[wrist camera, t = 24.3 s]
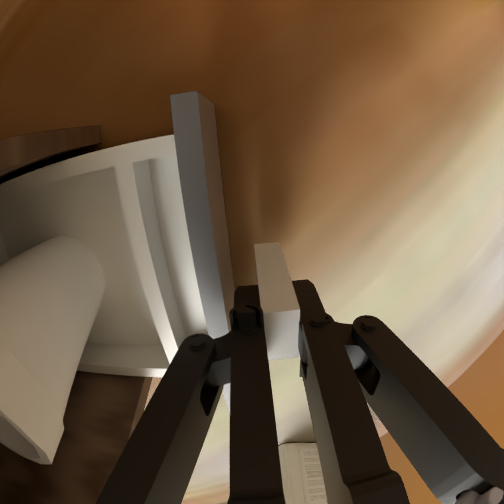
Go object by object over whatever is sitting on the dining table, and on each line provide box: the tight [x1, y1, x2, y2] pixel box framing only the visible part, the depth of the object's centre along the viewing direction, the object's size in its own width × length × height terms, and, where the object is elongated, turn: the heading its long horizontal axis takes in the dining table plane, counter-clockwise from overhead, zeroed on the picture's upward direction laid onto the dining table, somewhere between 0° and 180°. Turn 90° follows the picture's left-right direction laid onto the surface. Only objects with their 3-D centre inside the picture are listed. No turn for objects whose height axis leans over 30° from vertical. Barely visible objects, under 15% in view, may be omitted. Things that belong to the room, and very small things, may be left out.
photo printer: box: [278, 443, 328, 504], centre depth 27 cm, size 10×4×12 cm, turn 75°
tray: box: [0, 91, 235, 416], centre depth 16 cm, size 20×19×7 cm
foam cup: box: [0, 235, 106, 464], centre depth 12 cm, size 10×9×13 cm
